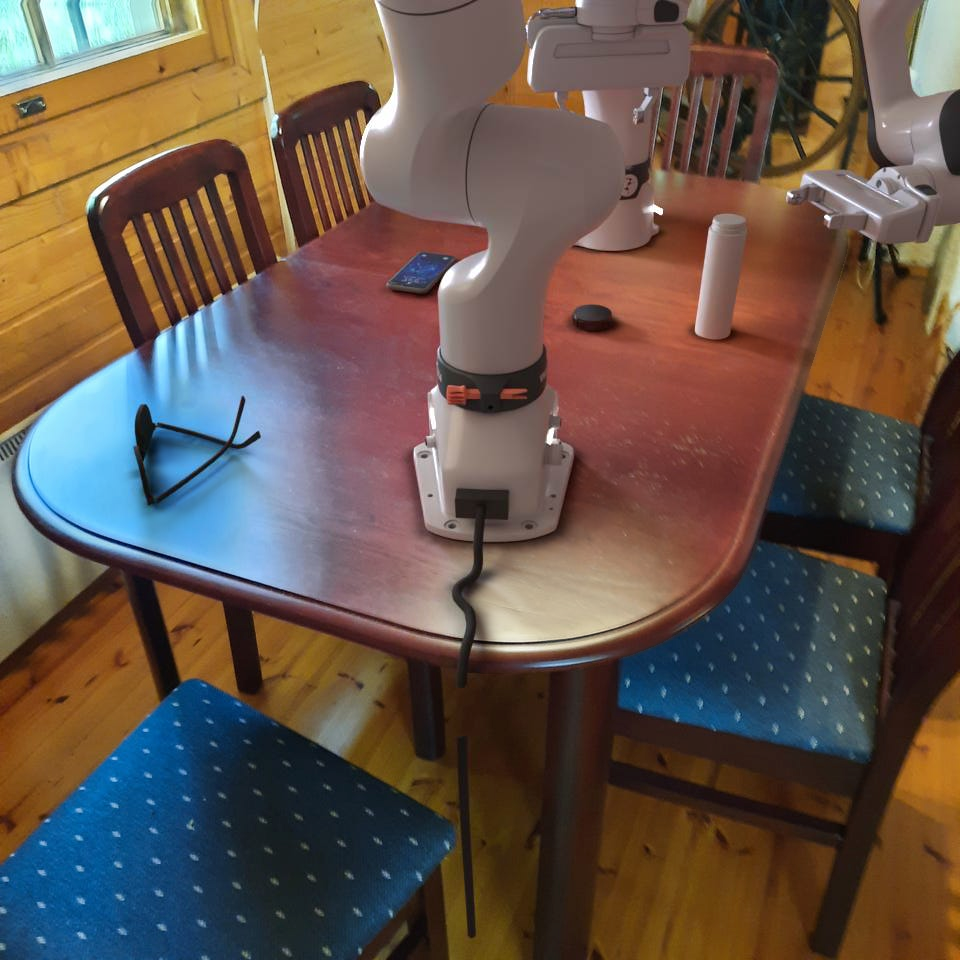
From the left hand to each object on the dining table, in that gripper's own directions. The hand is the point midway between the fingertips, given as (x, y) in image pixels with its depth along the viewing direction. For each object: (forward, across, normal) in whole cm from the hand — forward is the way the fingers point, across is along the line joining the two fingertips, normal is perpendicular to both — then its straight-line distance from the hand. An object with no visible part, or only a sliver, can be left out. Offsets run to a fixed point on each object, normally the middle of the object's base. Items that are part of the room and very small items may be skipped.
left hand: (604, 125), depth 111 cm
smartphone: (+28, -25, +21) cm, 43 cm away
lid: (+27, 0, 0) cm, 27 cm away
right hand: (+12, +28, -3) cm, 31 cm away
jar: (+28, +17, -5) cm, 33 cm away
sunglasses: (+28, -53, -29) cm, 67 cm away
